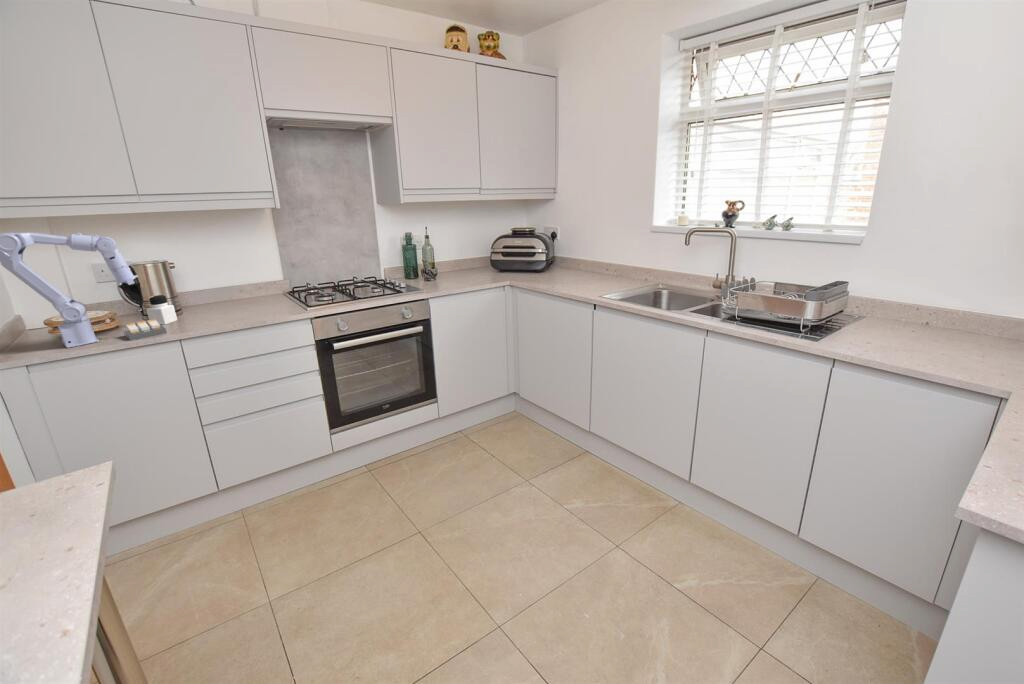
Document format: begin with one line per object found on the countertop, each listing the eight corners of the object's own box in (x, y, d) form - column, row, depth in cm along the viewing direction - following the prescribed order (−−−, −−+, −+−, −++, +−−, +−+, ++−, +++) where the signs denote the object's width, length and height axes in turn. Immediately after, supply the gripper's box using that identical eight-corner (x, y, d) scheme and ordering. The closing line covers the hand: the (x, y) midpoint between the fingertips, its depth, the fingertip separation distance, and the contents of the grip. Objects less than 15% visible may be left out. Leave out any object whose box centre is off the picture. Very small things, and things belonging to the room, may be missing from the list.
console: (130, 340, 182) (128, 335, 181) (124, 336, 188) (123, 330, 187) (166, 332, 190) (165, 327, 189) (160, 328, 196) (158, 323, 196)
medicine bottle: (178, 320, 210) (170, 293, 206) (165, 324, 203) (157, 297, 199) (163, 320, 210) (155, 294, 207) (150, 324, 204) (142, 297, 200)
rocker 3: (152, 328, 188) (151, 325, 187) (147, 323, 191) (147, 320, 191) (160, 327, 190) (159, 324, 189) (155, 321, 193) (154, 318, 193)
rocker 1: (131, 333, 183) (130, 330, 182) (126, 327, 187) (125, 324, 186) (139, 331, 185) (138, 328, 184) (134, 325, 188) (133, 322, 188)
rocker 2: (141, 330, 185) (141, 328, 185) (137, 325, 189) (136, 322, 188) (149, 329, 187) (149, 326, 187) (145, 323, 191) (144, 320, 190)
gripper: (135, 264, 179) (153, 297, 185) (127, 264, 189) (145, 295, 195) (113, 271, 175) (133, 304, 181) (106, 270, 185) (125, 301, 190)
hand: (138, 300), depth 187 cm, fingers open, 7 cm apart
